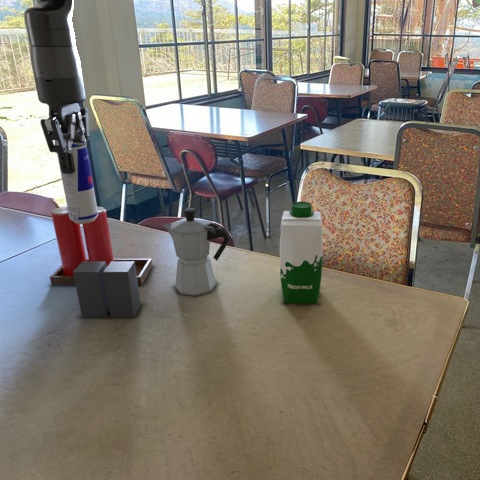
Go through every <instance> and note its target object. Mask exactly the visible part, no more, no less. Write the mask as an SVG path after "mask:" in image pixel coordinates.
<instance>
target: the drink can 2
mask: <svg viewBox="0 0 480 480" xmlns="http://www.w3.org/2000/svg"><path fill="white" fill-rule="evenodd" d="M97 211H98V217H97V218H95V220H94V221H93V222H90V223H85V224H81V225H82V231H83V235H84V241H85V247H86V252H87V258H88V259H89V261H106V265H107V266H108V265H109V264H110V262H111V261H114V259H115V258H114V252H113V246H112V239H111V235H110V234H111V233H110V227H109V221H108V215H107V210H106V208H105V207H103V206H97Z"/></svg>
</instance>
